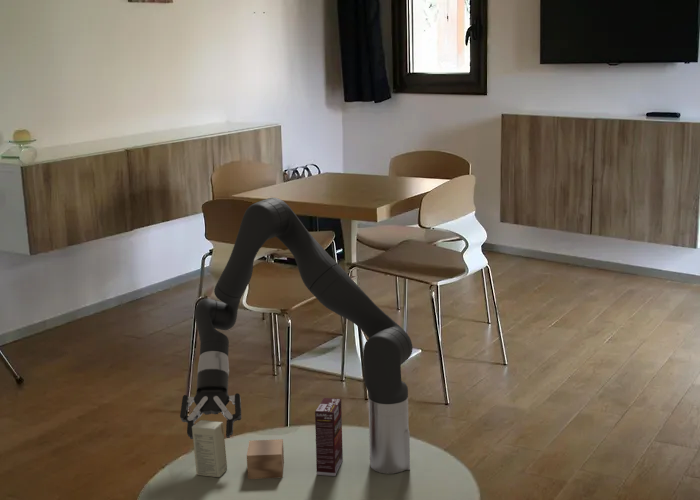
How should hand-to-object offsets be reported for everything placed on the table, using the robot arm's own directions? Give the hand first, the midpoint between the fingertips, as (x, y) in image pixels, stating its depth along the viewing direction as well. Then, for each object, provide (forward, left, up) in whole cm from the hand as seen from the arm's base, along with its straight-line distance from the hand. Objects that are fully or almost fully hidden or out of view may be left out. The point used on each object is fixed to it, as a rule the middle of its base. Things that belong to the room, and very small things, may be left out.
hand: (209, 437), depth 206 cm
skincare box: (0, +1, -8) cm, 9 cm away
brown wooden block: (-13, +1, -8) cm, 15 cm away
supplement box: (-28, +1, -8) cm, 29 cm away
